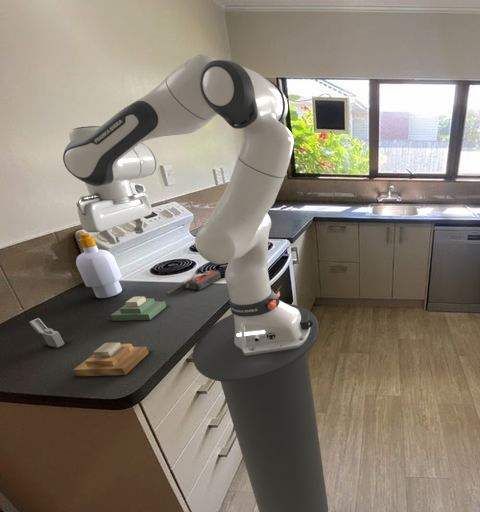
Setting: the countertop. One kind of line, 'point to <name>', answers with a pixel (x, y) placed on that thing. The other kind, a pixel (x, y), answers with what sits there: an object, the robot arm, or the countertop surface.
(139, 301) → the far key
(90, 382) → the countertop surface
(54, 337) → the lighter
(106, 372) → the key block
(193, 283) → the walkie-talkie
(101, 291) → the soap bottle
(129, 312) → the key block
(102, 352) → the near key
